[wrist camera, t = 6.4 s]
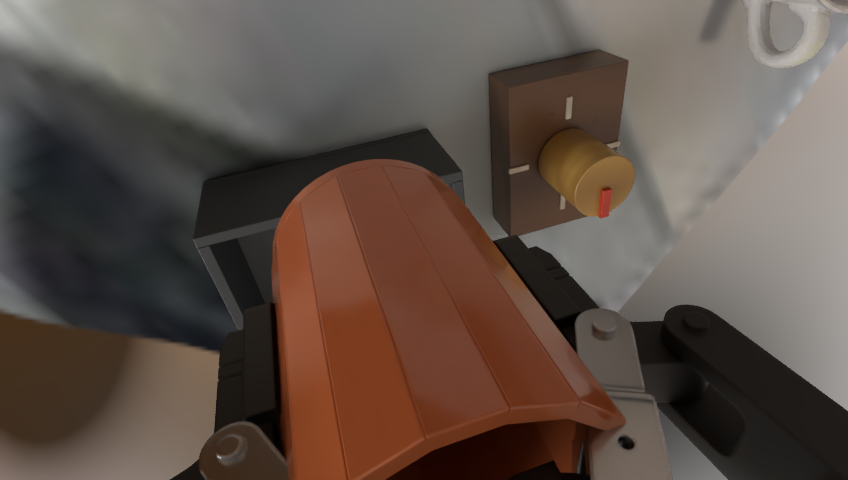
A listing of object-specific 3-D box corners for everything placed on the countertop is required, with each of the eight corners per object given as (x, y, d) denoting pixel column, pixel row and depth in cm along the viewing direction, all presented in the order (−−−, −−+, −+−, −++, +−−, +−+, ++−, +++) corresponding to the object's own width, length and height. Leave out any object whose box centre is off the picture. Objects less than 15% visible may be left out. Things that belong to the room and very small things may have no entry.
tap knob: (538, 135, 30) (580, 167, 26) (594, 121, 31) (643, 150, 27) (537, 190, 32) (575, 226, 28) (589, 176, 33) (633, 209, 29)
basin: (203, 181, 28) (192, 239, 23) (427, 128, 31) (462, 170, 26) (264, 317, 35) (266, 386, 30) (443, 266, 38) (474, 321, 32)
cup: (243, 187, 13) (233, 503, 6) (458, 137, 14) (667, 354, 7) (302, 342, 17) (340, 651, 10) (469, 293, 18) (613, 538, 11)
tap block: (486, 74, 30) (508, 88, 27) (601, 49, 31) (632, 60, 29) (492, 217, 36) (510, 240, 34) (587, 191, 38) (611, 211, 35)
